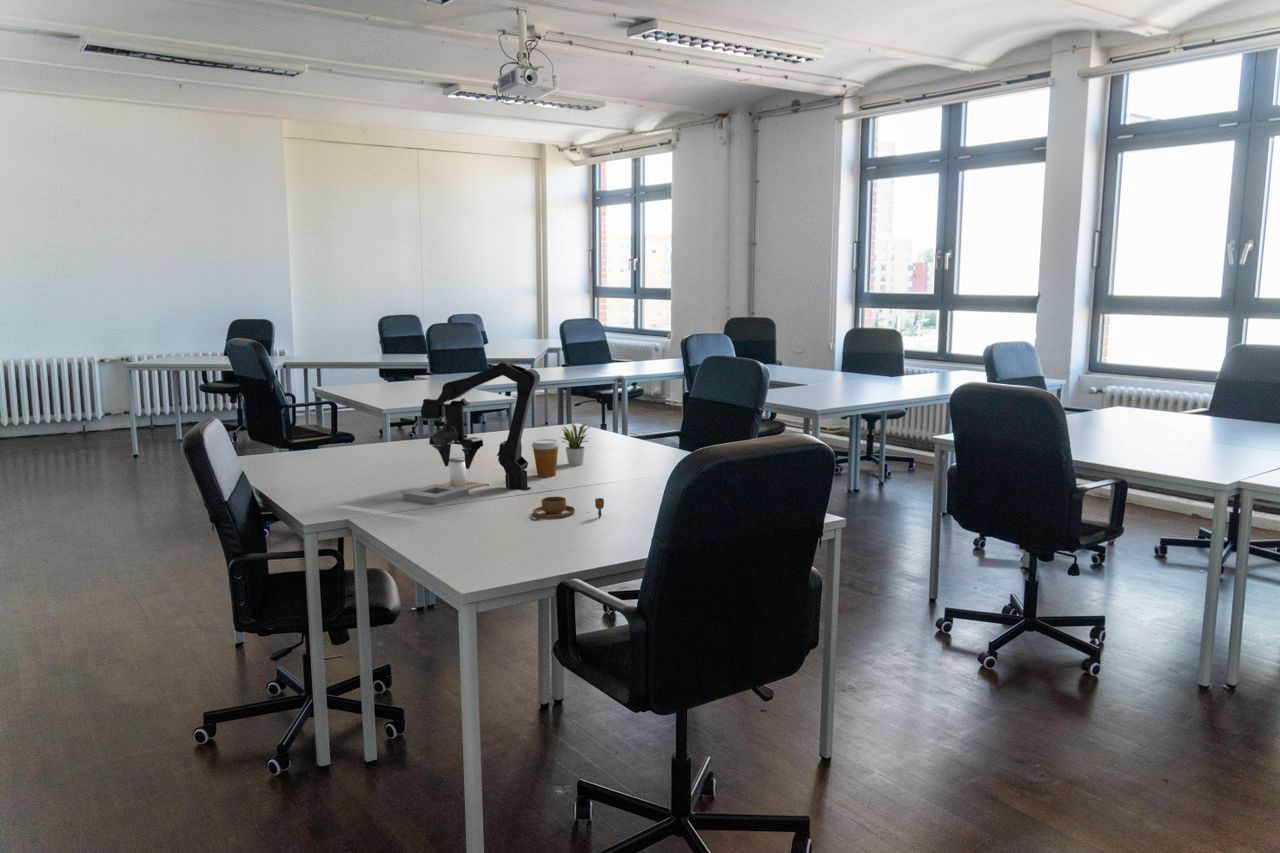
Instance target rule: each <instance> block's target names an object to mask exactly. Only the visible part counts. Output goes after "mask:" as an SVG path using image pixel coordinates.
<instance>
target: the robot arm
mask: <svg viewBox="0 0 1280 853" xmlns="http://www.w3.org/2000/svg"><path fill="white" fill-rule="evenodd" d="M502 376H504V377H506V378H508V379H509V380H511V381H513V382H515V383H516V393H517V394H516V395H517V398H516V403H515V405H514V406H515V407H514V410H513V415H512V418H511V423H510V427H509V432H508V434H507V439H506V440H504V441H502V442H501V443H499V448H498V453H497V454H496V456H497V457H498V460H497V461H498V463H499V464H500V466H501V467H503V470H504V473H505V475H504V477H505V489H508V490H517V491H527V490H530V489H531V488H532V487H530V486H528V471H527V470H526V469H528V465H529V462H528V461H527V460H526V459H525V458H524V457H523V456H522V450H523V449H522V448H523V447H522V436H523V433H524V428H525V426H526V420H527V417H528V412H529V409H530V404H531V400H532V397H533V396H534V394H535V392H536V391H537V388H538V387H539V383H540V381H541V375H540V374H539V372H538V371H537V370H536V369H534V368H533V369H532V368H529V369H527V368H524V367H522V366H520V365H519V366H518V365H516V364H512V363H510V362H508V361H503V362H502V361H501V362H499V363H498V364H496V365H494V366H492V367H490V368H487V369H485V370H482V371H480V372H478V373H476V374H473V375H471V376H469V377H463V378H460V379H459V378H458V379H455V380H452V381H448V382H446V383H444V384H443V386H442V389H441V393H440V394H439V396H438V398H437V399H434V398H433V399H432V398H424V399H423V401H422V402H423V403H422V406H421V409H420V417H421V419H422V420H425V421H427V420H428V421H441V420H443V418H444V417H445V423H443V424H442V429H441V430H438V431H437V432H435V434H433V435H431V436H429V440H428V441H429V445H430V446H432V447H433V448H435V449H436V450H437V451H438V452H439V454H440V457H441V460H442V461H443V465H444V466H445V467H449V466H450V465H449V459H450V458H451V457H450V456H451V446H452V445H461V446H462V449H461V451H462V452H463V453H464V458H465V470H469V469H470V468H471V465H472V464H473V460H474V459H475V455H477V452H478V450H480V449H481V448H482V447H484V439H482V438H481V437H475V436H474V437H473V436H472V437H468V434H465V426H468V424H467V422H466V421H465V419H464V417H465V416H464V407H468V406H470V402H469V401H467V399H466V398H465V397H464V398H461V397H463V396H464V395H466V394H467V393H469V392H470V391H471V390H473V389H474V388H477V387H479V386H482V385H483V384H485V383H488V382H491V381H493V380H495V379H497V378H500V377H502ZM460 398H461V399H460ZM456 399H460V400H456ZM447 402H450V403H447Z"/></svg>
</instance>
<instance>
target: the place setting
mask: <svg viewBox="0 0 1280 853" xmlns="http://www.w3.org/2000/svg"><path fill="white" fill-rule="evenodd" d="M566 501H567V499H566V497H564V496H563V497H562V496H547V497H544V498H542V499H541V506H539V507H538V506H537V507H536V508H534V509H533V510H532V512H533V515H534V516H535V517H536V516H537V517H536V518H537V519H533V518H534V517H531V516H528V517H529V518H528V519H531V518H532V519H531V520H532V521H536V520H537V521H539V520H540V518H541V519H547V518H555V519H562V518H563V517H564V518H567V517H568V518H569V517H571V516H573V515H574V514H575V511H576V509H575V507H573V506H571V505H567V502H566ZM604 504H605V499H604V498H602V497H600V498H599V497H598V498H597V497H596V498H595V499H594V505H595V508H596V509H598V510H597V512H598V513H597V516H598V517H599V518H598V519H601V518H600V517H602V509H603V508H604V506H605V505H604ZM568 510H569V512H565V513H563V512H564V511H568ZM540 511H541V512H545V513H546V514H542V513H540ZM537 512H538V513H537ZM539 517H540V518H539ZM564 518H563V519H564Z"/></svg>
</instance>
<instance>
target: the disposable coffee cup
mask: <svg viewBox="0 0 1280 853" xmlns="http://www.w3.org/2000/svg"><path fill="white" fill-rule="evenodd" d="M559 446H560V443H559V440H558V439H552V438H551V439H550V438H548V439H546V438H545V439H543V438H542V439H535V440H533V441H532V444H531V447H532V451H533V455H534V460H535V468H536V473H537V474H536V475H537V476H538V477H539V476H540V477H541V478H552V477H555V476H556V475H557V466H558V464H557V463H558V454H559V453H558V452H559ZM551 476H552V477H551Z"/></svg>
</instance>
